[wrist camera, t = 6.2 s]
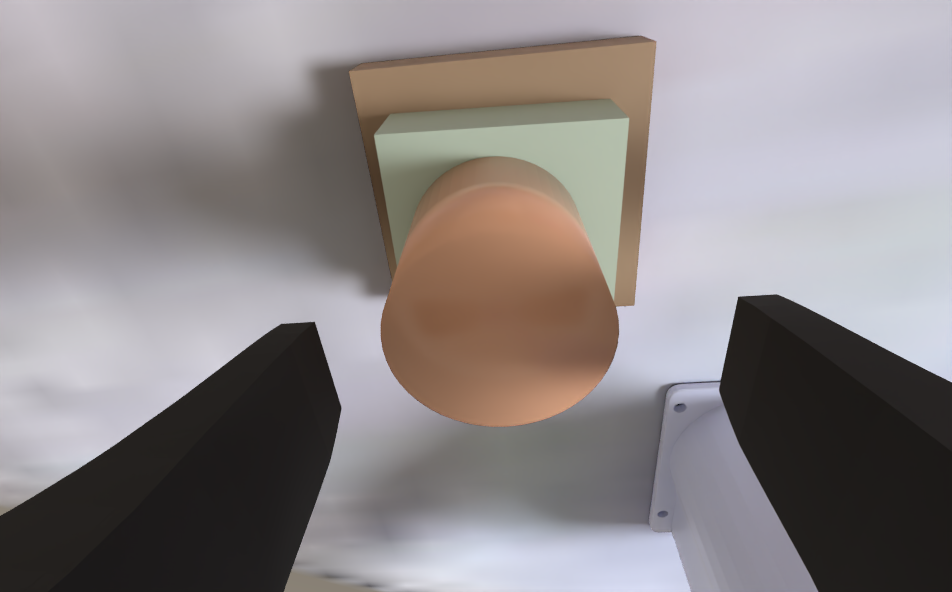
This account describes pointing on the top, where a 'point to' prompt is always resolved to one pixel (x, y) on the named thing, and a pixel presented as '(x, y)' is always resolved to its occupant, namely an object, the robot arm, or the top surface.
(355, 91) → the tower base
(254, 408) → the robot arm
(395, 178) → the tower top
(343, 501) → the top surface
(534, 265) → the terracotta cylinder
